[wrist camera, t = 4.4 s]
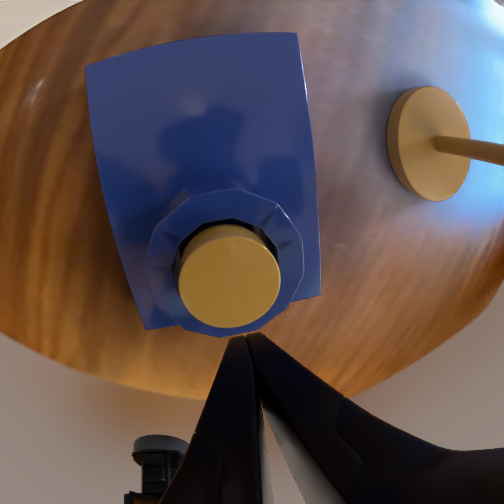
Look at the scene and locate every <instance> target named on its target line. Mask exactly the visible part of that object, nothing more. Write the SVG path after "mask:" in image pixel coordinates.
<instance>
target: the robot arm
mask: <svg viewBox="0 0 504 504" xmlns="http://www.w3.org/2000/svg"><path fill="white" fill-rule="evenodd" d="M261 404H262V406H261ZM262 408H263V410H264V413H265V415H266V418H267V420H268V422H269V425H270V427H271V429H272V431H273V433H274V436H275V438H276V440H277V442H278V445H279V447H280V449H281V451H282V454H283V456H284V458H285V460H286V462H287V464H288V466H289V469H290V471H291V473H292V475H293V477H294V479H295V481H296V483H297V485H298V488H299V490H300V491H301V494H302V496H303V498H304V500H305V502H306V504H504V448H495V449H484V450H470V451H459V450H450V449H445V448H442V447H439V446H436V445H433V444H431V443H429V442H427V441H424V440H422V439H420V438H418V437H415V436H413V435H411V434H409V433H407V432H405V431H403V430H400V429H398V428H396V427H394V426H392V425H390V424H388V423H386V422H384V421H383V420H381V419H379V418H377V417H375V416H373V415H372V414H370V413H369V412H367V411H366V410H364V409H363V408H361V407H359V406H358V405H356V404H355V403H354V402H352V401H351V400H349V399H348V398H347V397H345V398H344V396H343V395H342V394H341V393H339V392H338V391H337V390H335V389H334V388H333V387H331V386H330V385H328V384H327V383H326V382H324V381H323V380H322V379H320V378H319V377H318V376H316V375H315V374H314V373H312V372H311V371H310V370H308V369H307V368H306V367H304V366H303V365H302V364H300V363H299V362H298V361H297V360H295V359H294V358H293V357H291V356H290V355H289V354H287V353H286V352H285V351H284V350H282V349H281V348H280V347H279V346H277V345H276V344H275V343H274V342H272V341H271V340H270V339H268V338H267V337H266V336H265V335H263V334H262V333H261V332H256V333H252V334H247V335H246V337H245V336H243V335H242V336H237V337H232V338H230V340H229V342H228V345H227V347H226V350H225V353H224V355H223V358H222V361H221V363H220V366H219V369H218V371H217V374H216V377H215V379H214V382H213V384H212V387H211V390H210V392H209V395H208V398H207V400H206V403H205V406H204V408H203V411H202V413H201V416H200V418H199V421H198V424H197V426H196V429H195V433H194V434H193V436H192V439H191V442H190V444H189V446H188V449H187V451H186V453H185V456H183V454H182V453H181V451H179V450H170V451H153V452H132V457H133V458H134V459H135V460H136V461H137V462H138V463H139V464H140V465H141V466H142V468H141V493H136V492H133V491H129V494H124V504H274V501H273V493H272V485H271V477H270V469H269V461H268V452H267V445H266V436H265V428H264V420H263V412H262Z"/></svg>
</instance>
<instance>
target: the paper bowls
mask: <svg viewBox="0 0 504 504" xmlns="http://www.w3.org/2000/svg"><path fill="white" fill-rule="evenodd" d="M494 1H495V2H497V3H498V4H499V5H501V6H503V7H504V0H494Z"/></svg>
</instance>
